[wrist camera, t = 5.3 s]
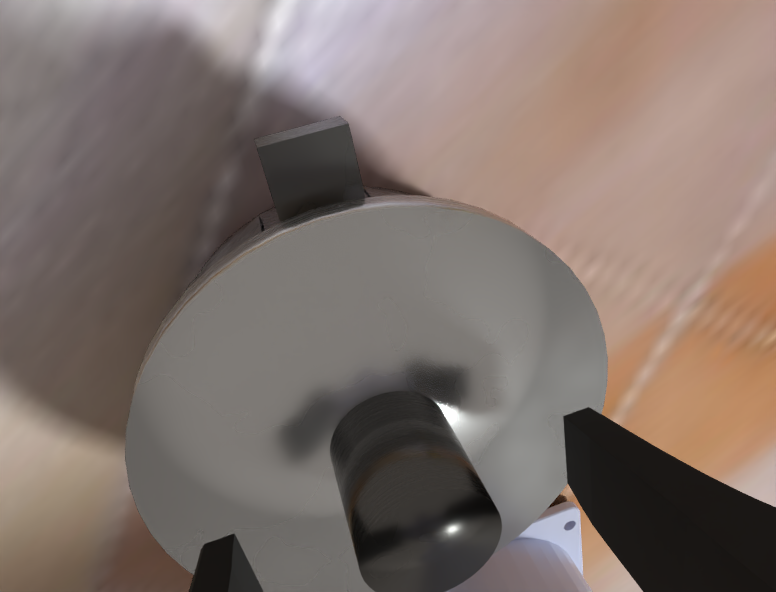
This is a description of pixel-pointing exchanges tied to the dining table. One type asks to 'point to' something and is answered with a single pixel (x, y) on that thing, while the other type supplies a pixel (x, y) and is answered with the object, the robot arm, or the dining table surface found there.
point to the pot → (304, 176)
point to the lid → (365, 397)
